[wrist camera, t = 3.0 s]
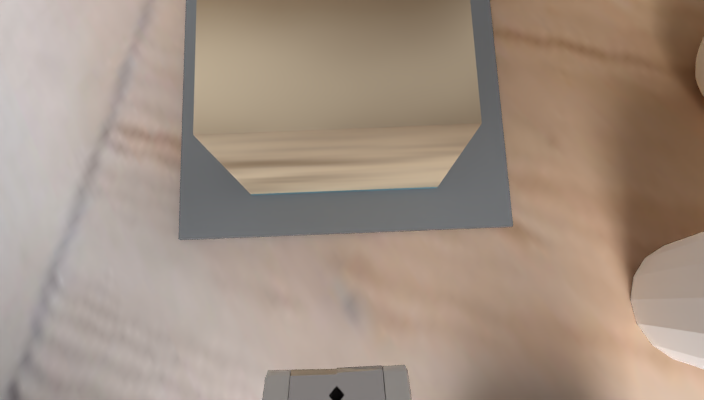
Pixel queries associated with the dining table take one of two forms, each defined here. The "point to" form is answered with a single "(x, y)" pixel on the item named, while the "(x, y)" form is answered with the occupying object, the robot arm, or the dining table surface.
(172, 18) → the dining table surface
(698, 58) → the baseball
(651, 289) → the white cylindrical piece
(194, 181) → the charcoal mat
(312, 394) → the robot arm
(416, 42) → the maple cube
